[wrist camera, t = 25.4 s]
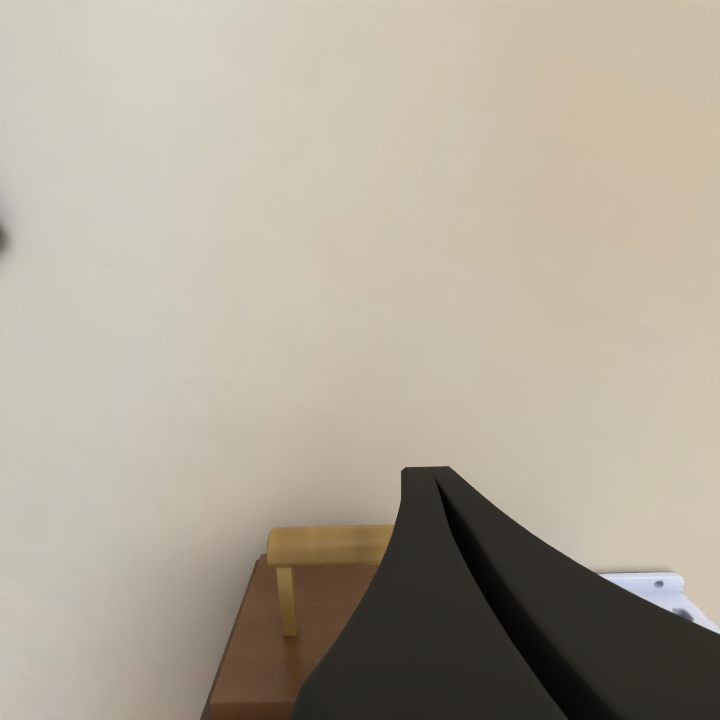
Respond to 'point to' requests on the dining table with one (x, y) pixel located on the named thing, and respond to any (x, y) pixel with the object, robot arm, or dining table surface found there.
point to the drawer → (294, 615)
